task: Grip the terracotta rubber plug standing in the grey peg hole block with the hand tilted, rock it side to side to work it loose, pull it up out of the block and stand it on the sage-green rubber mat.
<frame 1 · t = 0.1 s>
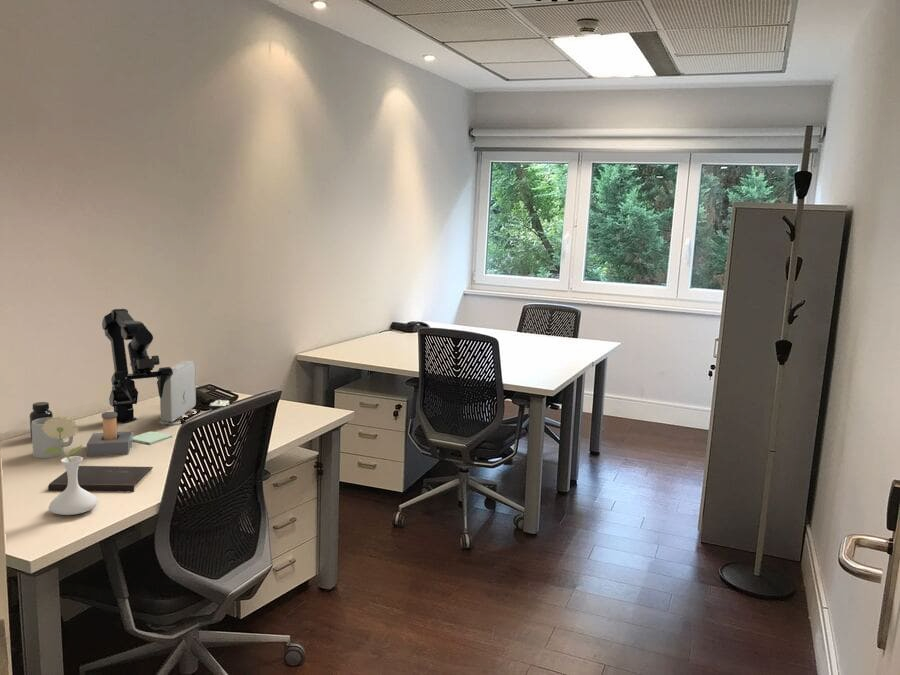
hand: (147, 399, 244), 15 cm above the table, tool tilted 35°, fingers open, 9 cm apart
grey peg hole block: (110, 449, 237), on the table
plug: (110, 431, 236), in the grey peg hole block
network device: (178, 418, 276), on the table
mug: (54, 454, 230), on the table
mat: (150, 438, 250), on the table
supplement bottle: (42, 438, 246), on the table
pneumatic valve: (218, 433, 260), on the table
flower in vase: (70, 511, 188), on the table
hardcover book: (102, 483, 209), on the table
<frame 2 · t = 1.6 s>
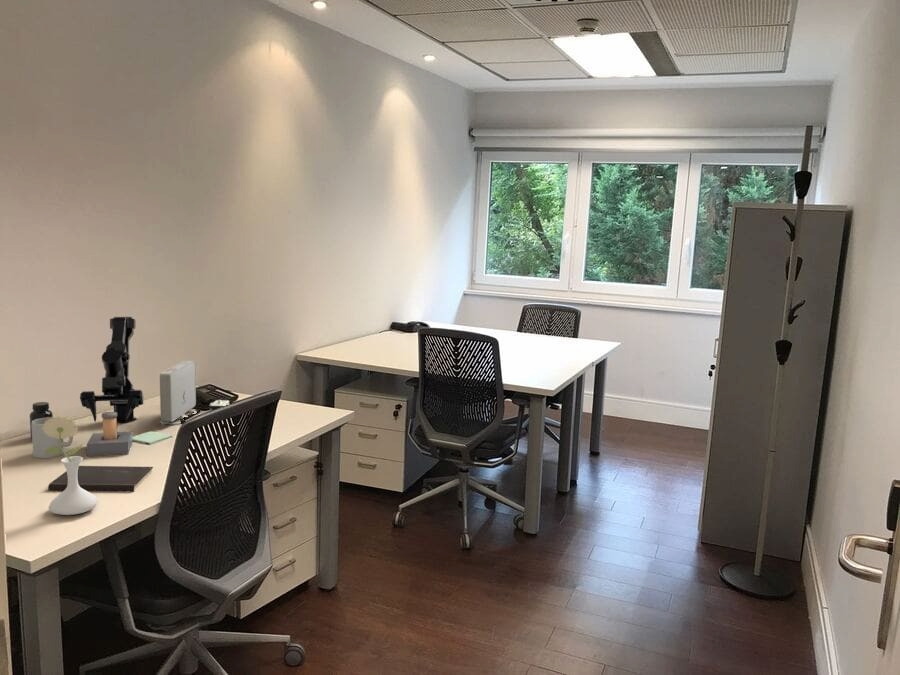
hand: (110, 420, 237), 9 cm above the table, tool tilted 45°, fingers open, 9 cm apart
nothing on the table moved.
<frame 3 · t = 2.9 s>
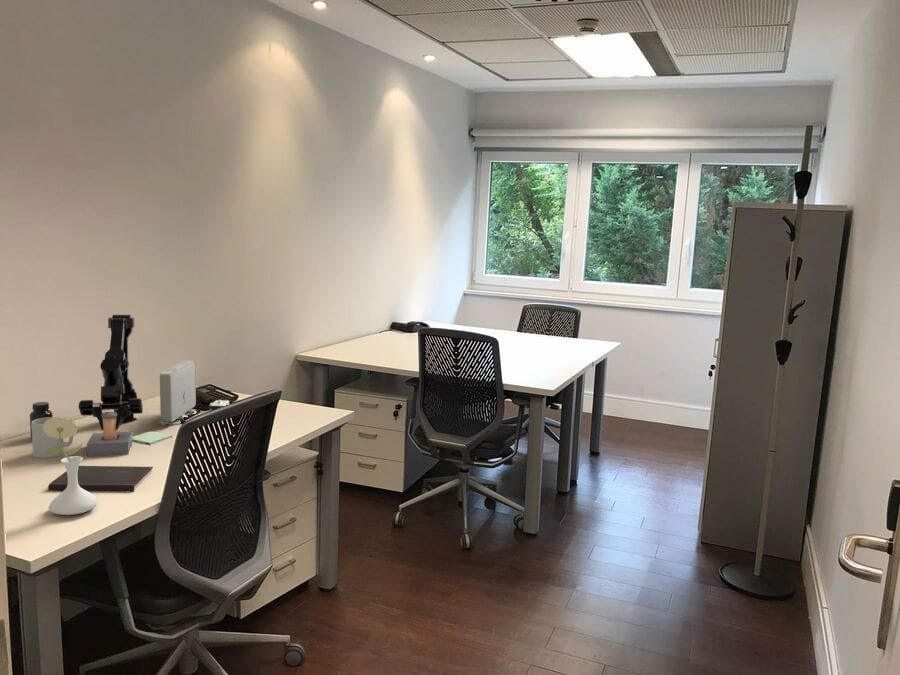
hand: (109, 429, 234), 7 cm above the table, tool tilted 45°, fingers closed on plug, 4 cm apart
plug: (110, 431, 236), in the grey peg hole block, touching gripper
everything else where it was.
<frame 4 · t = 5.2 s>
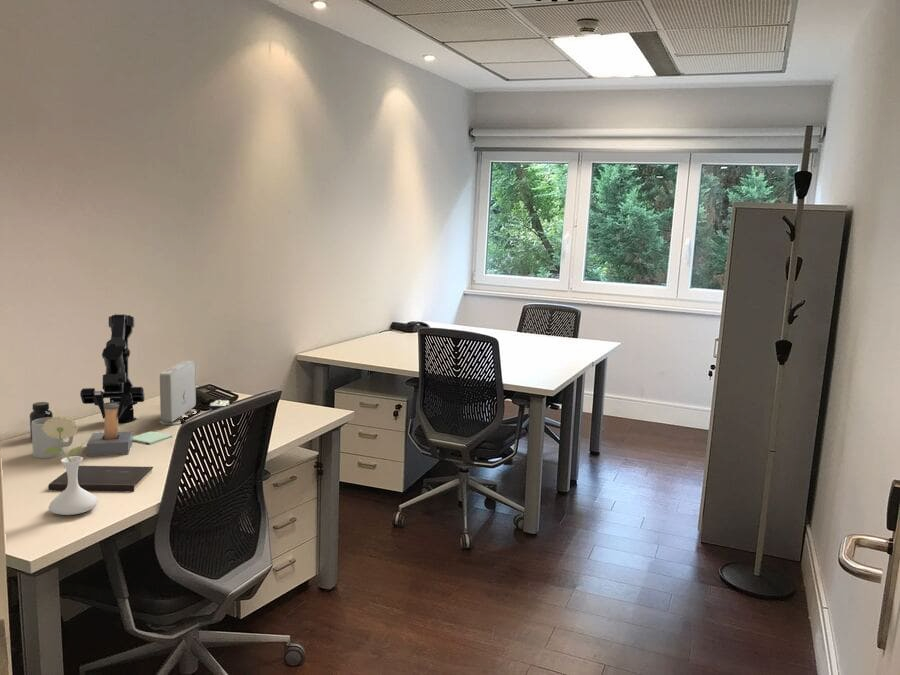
hand: (111, 417, 234), 11 cm above the table, tool tilted 45°, fingers closed on plug, 4 cm apart
plug: (111, 422, 235), point 9 cm above the table, touching gripper
everything else where it was.
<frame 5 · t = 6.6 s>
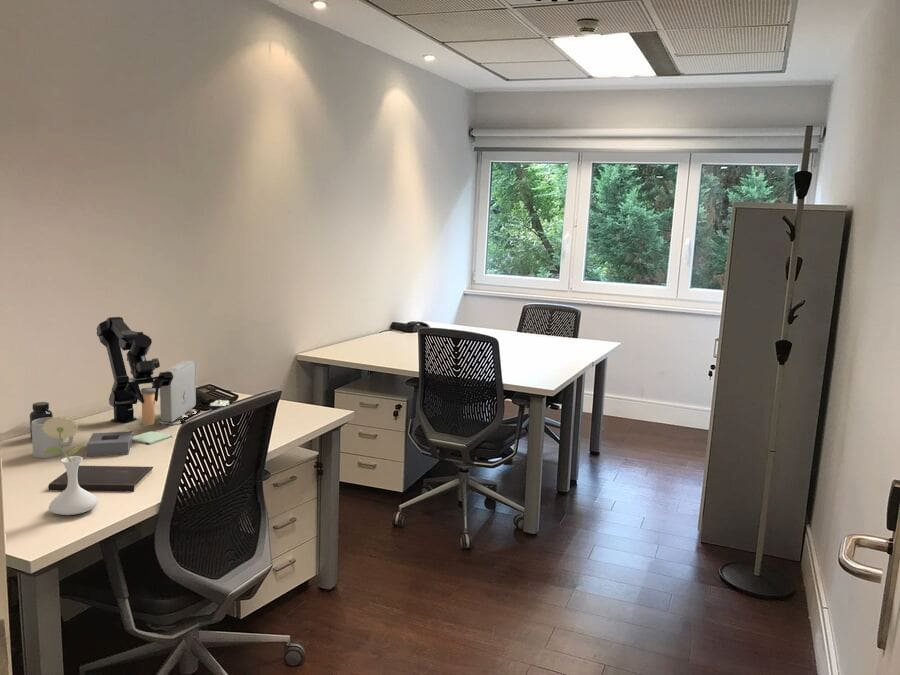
hand: (149, 401, 246), 13 cm above the table, tool tilted 45°, fingers closed on plug, 4 cm apart
plug: (148, 406, 247), point 12 cm above the table, touching gripper
everything else where it was.
when the fingers open (9 cm above the table, at t = 7.7 s): plug stays where it is, resting on mat.
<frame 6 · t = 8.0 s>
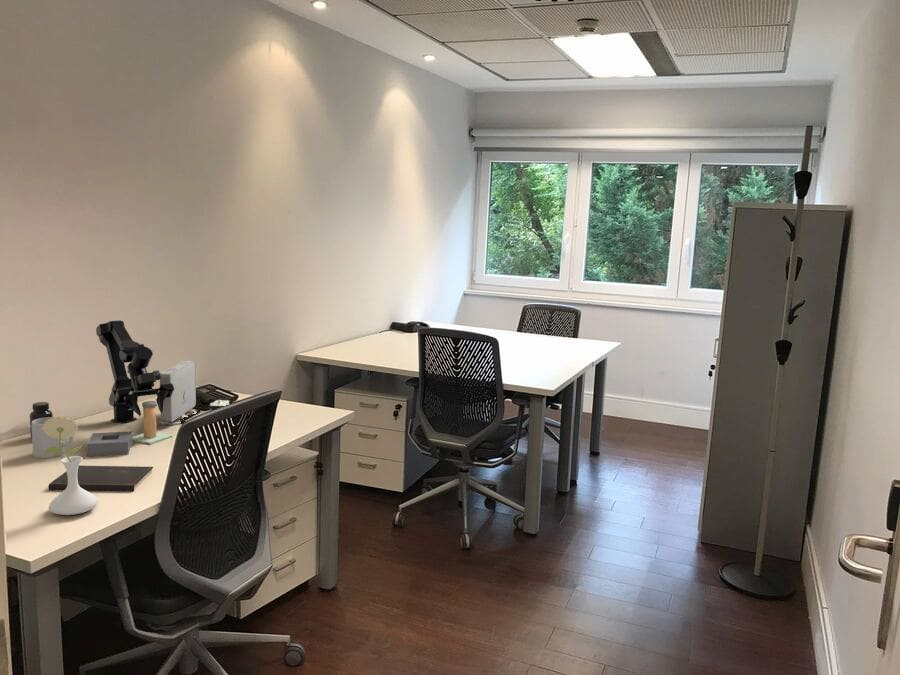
hand: (151, 413, 247), 9 cm above the table, tool tilted 45°, fingers open, 7 cm apart
plug: (149, 419, 249), on the mat, point 7 cm above the table
everything else where it was.
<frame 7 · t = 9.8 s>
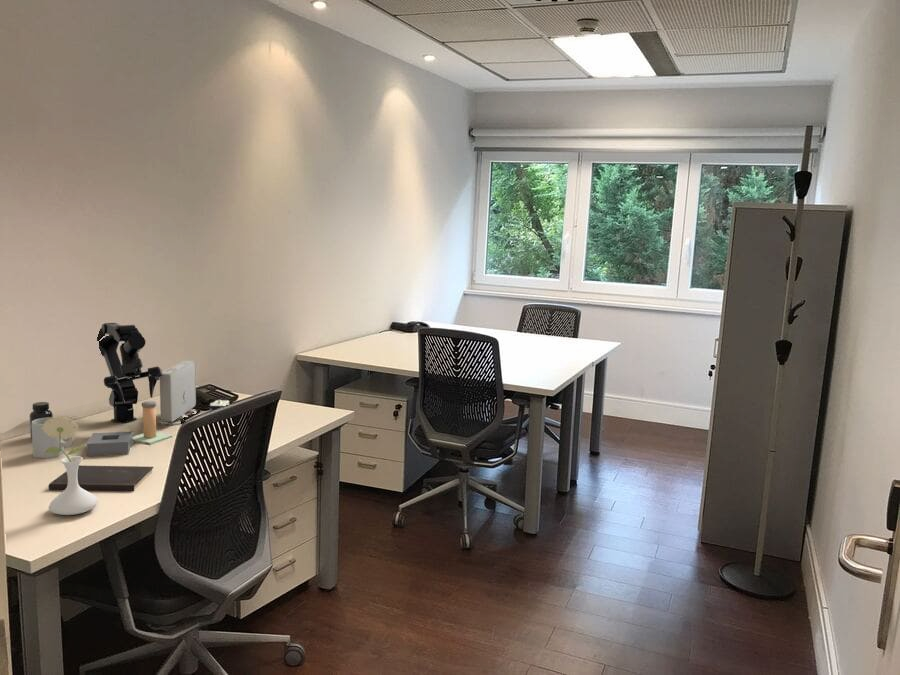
hand: (137, 400, 255), 11 cm above the table, tool tilted 30°, fingers open, 9 cm apart
nothing on the table moved.
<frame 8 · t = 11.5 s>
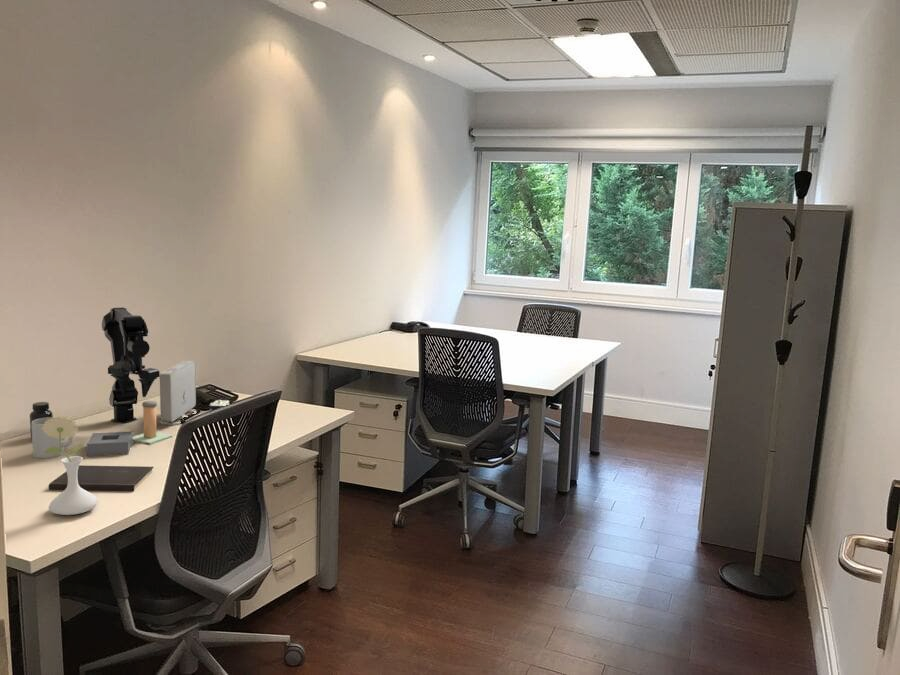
hand: (134, 395, 255), 13 cm above the table, tool pointing down, fingers open, 9 cm apart
nothing on the table moved.
at the end: plug inside the target area on the mat (0.1 cm from its centre), point 6.6 cm above the mat's base; plug tilted 1°; the gripper is holding nothing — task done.
